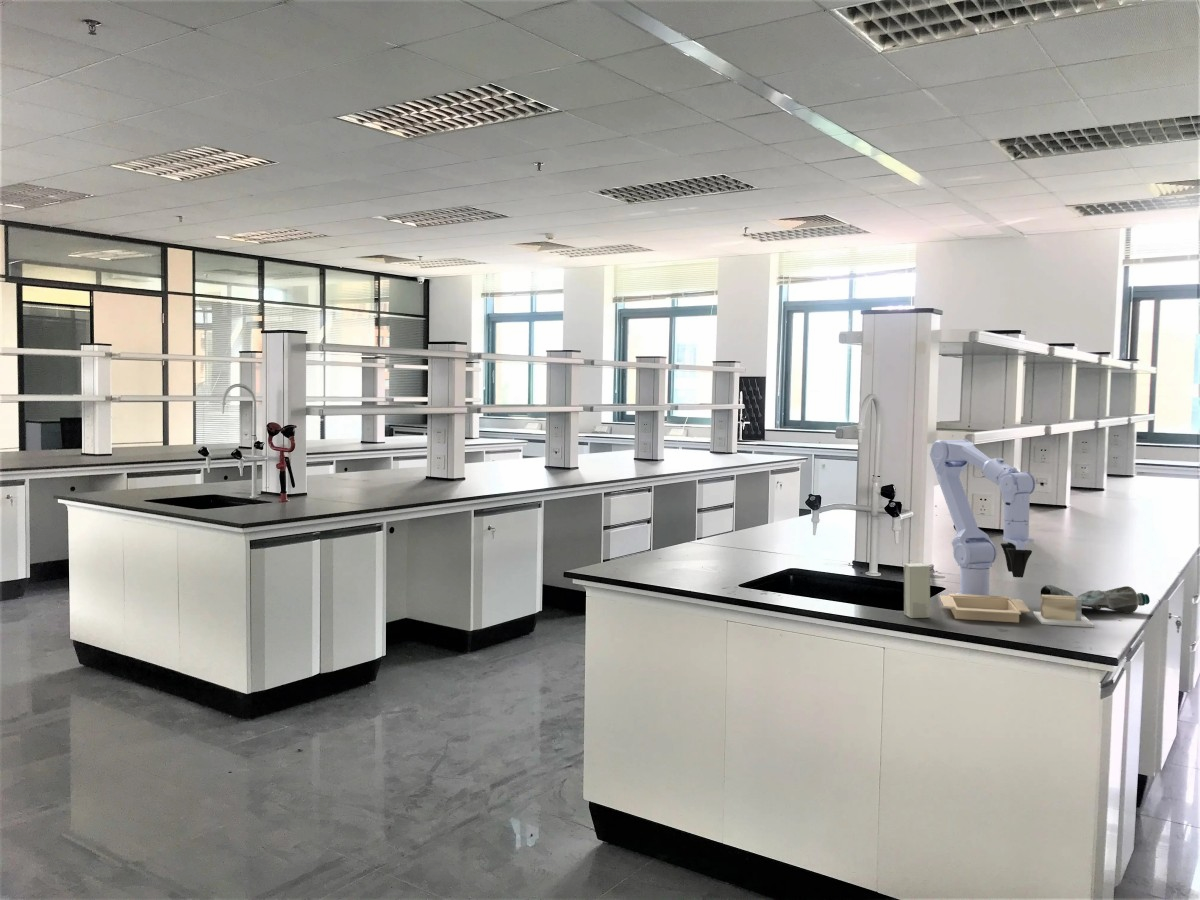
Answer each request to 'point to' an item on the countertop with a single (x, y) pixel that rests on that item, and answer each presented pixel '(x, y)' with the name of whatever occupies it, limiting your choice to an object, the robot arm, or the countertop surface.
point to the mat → (1064, 621)
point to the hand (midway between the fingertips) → (1015, 574)
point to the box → (917, 590)
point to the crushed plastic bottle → (1105, 598)
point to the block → (1061, 607)
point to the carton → (984, 607)
